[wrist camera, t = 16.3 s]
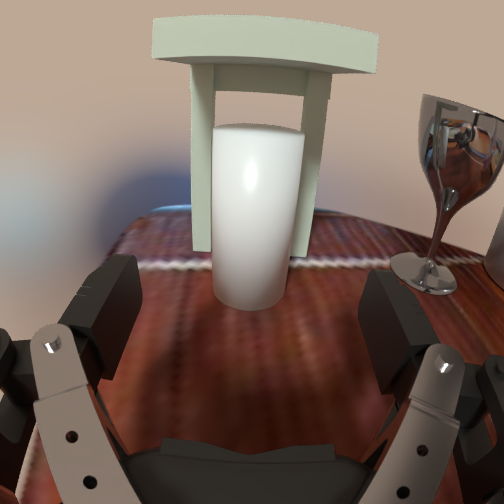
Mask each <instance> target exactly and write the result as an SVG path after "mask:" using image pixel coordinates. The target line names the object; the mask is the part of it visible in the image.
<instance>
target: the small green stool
mask: <svg viewBox="0 0 504 504" xmlns="http://www.w3.org/2000/svg"><path fill="white" fill-rule="evenodd" d="M378 37H379V35H378V34H375V33H371V32H367V31H362V30H358V29H353V28H348V27H344V26H338V25H333V24H327V23H321V22H314V21H307V20H299V19H291V18H280V17H268V16H251V15H196V16H180V17H167V18H157V19H154V20H153V37H152V38H153V39H152V59H159V60H165V61H172V62H178V63H184V64H190V65H191V66H190V91H192V96H191V202H192V234H193V251H204V252H211V249H212V144H213V128H214V120H215V92H216V91H243V92H262V93H277V94H287V95H297V96H304V101H303V112H302V122H301V132H302V133H304V134H305V138H304V148H303V157H302V165H301V174H300V182H299V191H298V199H297V207H296V215H295V222H294V230H293V237H292V244H291V252H290V256H292V257H306V254H307V249H308V243H309V237H310V230H311V224H312V218H313V211H314V204H315V198H316V191H317V184H318V177H319V170H320V162H321V155H322V146H323V139H324V130H325V122H326V112H327V104H328V99H330V92H331V82H332V74H340V73H370V74H375V72H376V62H377V51H378Z"/></svg>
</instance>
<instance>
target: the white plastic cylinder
mask: <svg viewBox="0 0 504 504" xmlns="http://www.w3.org/2000/svg"><path fill="white" fill-rule="evenodd" d="M304 138H305V134H304V133H302V132H300V131H297V130H295V129H290V128H286V127H281V126H275V125H266V124H246V123H244V124H226V125H220V126H217V127H214V128H213V144H212V288H213V292H214V294H215V296H216V297H217V299H218V300H219V301H221V302H222V303H223V304H225V305H227V306H229V307H232V308H235V309H238V310H244V311H258V310H263V309H267V308H270V307H272V306H274V305H275V304H277V303H278V302H279V301H280V300H281V299H282V298H283V296H284V292H285V286H286V279H287V273H288V266H289V259H290V252H291V244H292V237H293V230H294V222H295V215H296V207H297V199H298V191H299V182H300V174H301V165H302V157H303V148H304Z"/></svg>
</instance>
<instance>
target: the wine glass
mask: <svg viewBox="0 0 504 504" xmlns="http://www.w3.org/2000/svg"><path fill="white" fill-rule="evenodd" d="M418 127H419V128H418V149H419V160H420V164H421V166H422V170H423V172H424V174H425V176H426V178H427V181H428V183H429V185H430V187H431V190H432V192H433V195H434V198H435V202H436V208H437V217H436V223H435V229H434V233H433V237H432V241H431V244H430V247H429V250H428V252H427V254H426V253H422V252H418V251H411V250H404V251H399V252H397V253H395V254H394V255H393V256H392V257H391V259H390V266H391V268H392V270H393V272H394V273H395V274H396V275H397V276H398V277H399V278H400V279H401V280H402V281H403V282H405V283H406V284H408V285H409V286H411V287H413V288H415V289H417V290H419V291H422V292H424V293H428V294H432V295H448V294H451V293H453V292H454V291H455V290H456V289H457V287H458V280H457V277H456V275H455V274H454V272H453V271H452V270H451V269H450V268H449V267H448V266H447V265H446V264H445V263H443V262H442V261H440V260H439V259H437V258H435V255H436V252H437V249H438V246H439V243H440V241H441V239H442V236H443V234H444V232H445V230H446V228H447V225H448V224H449V222H450V220H451V218H452V217H453V216H454V214H455V213H457V211H459V210H460V209H461V208H462V207H463V206H465V205H467V204H468V203H470V202H471V201H473V200H474V199H476V198H478V197H479V196H481V195H483V194H484V193H486V192H487V191H488V190H489V189H490V188H491V187H492V185H493V184H494V182H495V181H496V179H497V177H498V175H499V173H500V171H501V169H502V166H503V164H504V120H502V119H500V118H498V117H496V116H493V115H491V114H488V113H486V112H483V111H481V110H478V109H475V108H472V107H469V106H467V105H464V104H460V103H457V102H454V101H451V100H447V99H443V98H440V97H435V96H431V95H426V94H423V95H422V101H421V107H420V116H419V125H418Z"/></svg>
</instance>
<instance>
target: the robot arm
mask: <svg viewBox="0 0 504 504" xmlns="http://www.w3.org/2000/svg"><path fill="white" fill-rule="evenodd" d="M484 267H485V269H486V271H487V273H488V274H489V275H490V277H491V278H492V279H493V280H494V281H495V282H496V283H497V284H498V285H499V286H500V287H501V288H502V289H504V208H503V211H502V214H501V217H500V220H499V223H498V226H497V228H496V231H495V234H494V236H493V239H492V242H491V244H490V247H489V249H488V252H487V254H486V257H485V259H484ZM141 305H142V288H141V282H140V277H139V271H138V265H137V259H136V257H135V256H134V255H123V254H113V255H112V256H111V258H110V259H109V261H108V262H107V264H106V265H105V267H99V268H98V269H96V270H95V271H94V272H92V273H91V274H90V275H88V277H87V278H86V280H85V281H84V283H83V284H82V287H80V289H79V290H78V292H77V295H75V296H74V298H73V299H72V301H71V302H70V304H69V306H68V307H67V309H66V310H65V312H64V313H63V315H62V317H61V319H60V320H59V321H58V323H57V324H50V325H47V326H44V327H43V328H41V329H39V330H38V331H37V332H36V333H35V334H34V336H33V337H32V339H31V340H19V341H12V340H11V338H10V336H9V335H8V333H7V332H6V330H4V329H1V328H0V389H1V390H2V391H3V393H4V395H3V397H2V400H1V402H0V504H19V502H18V500H17V498H16V496H15V491H16V487H17V483H18V479H19V475H20V471H21V468H22V464H23V461H24V457H25V454H26V451H27V447H28V444H29V441H30V438H31V435H32V432H33V429H34V426H35V423H36V421H37V425H38V429H39V433H40V436H41V440H42V443H43V447H44V450H45V454H46V457H47V460H48V463H49V466H50V469H51V472H52V475H53V478H54V481H55V483H56V486H57V489H58V491H59V494H60V496H61V499H62V502H61V503H60V504H432V503H433V500H434V498H435V496H436V493H437V491H438V489H439V486H440V484H441V481H442V478H443V476H444V473H445V470H446V468H447V465H448V462H449V459H450V456H451V453H452V451H453V455H454V459H455V464H456V468H457V472H458V477H459V482H460V487H461V492H462V497H463V503H464V504H504V357H502V356H500V355H491V356H489V357H488V358H487V360H486V361H485V362H484V364H483V365H482V366H481V365H475V364H470V363H465V362H464V360H463V358H462V356H461V355H460V354H459V352H458V351H456V350H455V349H454V348H452V347H450V346H448V345H445V344H441V343H440V341H439V339H438V337H437V335H436V333H435V331H434V329H433V327H432V325H431V323H430V322H429V320H428V318H427V316H426V315H425V312H424V311H423V309H422V307H420V303H419V302H418V300H417V298H416V296H415V294H414V293H412V292H411V291H410V290H409V289H408V288H407V287H406V286H405V285H401V284H400V282H399V281H398V279H397V277H396V275H395V274H394V272H393V271H391V270H371V271H370V272H369V275H368V278H367V281H366V284H365V287H364V290H363V294H362V297H361V300H360V303H359V307H358V320H359V323H360V326H361V329H362V333H363V336H364V339H365V342H366V345H367V348H368V351H369V354H370V358H371V361H372V364H373V368H374V371H375V374H376V378H377V381H378V385H379V388H380V392H381V395H383V394H393V393H394V396H395V400H394V401H393V403H392V405H391V407H390V409H389V411H388V413H387V415H386V417H385V419H384V421H383V423H382V424H381V426H380V428H379V430H378V432H377V434H376V436H375V437H374V439H373V441H372V443H371V445H370V446H369V448H368V449H367V451H366V452H365V453H364V455H363V456H362V457H361V459H360V460H359V461H357V460H354V459H352V458H349V457H346V456H342V455H338V454H335V451H334V444H323V445H303V446H290V447H286V448H282V449H277V450H273V451H268V452H263V453H259V454H253V455H245V454H241V453H238V452H234V451H231V450H227V449H224V448H221V447H217V446H214V445H211V444H208V443H205V442H197V441H188V440H180V439H173V438H166V437H163V439H162V444H161V447H155V448H149V449H145V450H141V451H138V452H135V453H133V454H129V452H128V450H127V448H126V447H125V445H124V443H123V441H122V440H121V438H120V436H119V434H118V432H117V430H116V428H115V426H114V424H113V421H112V419H111V417H110V415H109V412H108V410H107V408H106V405H105V403H104V401H103V398H102V396H101V393H100V391H99V389H98V387H97V386H98V384H99V381H100V379H101V378H102V379H107V380H113V378H114V375H115V372H116V370H117V367H118V364H119V361H120V359H121V356H122V354H123V351H124V348H125V346H126V343H127V341H128V338H129V336H130V333H131V331H132V328H133V326H134V323H135V321H136V318H137V316H138V314H139V311H140V309H141ZM489 413H490V415H491V418H492V420H493V423H494V426H495V429H496V432H497V443H496V445H495V447H494V448H493V447H492V443H491V440H490V437H489V434H488V431H487V428H486V425H485V422H484V418H485V417H486V416H487V415H488V414H489Z"/></svg>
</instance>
